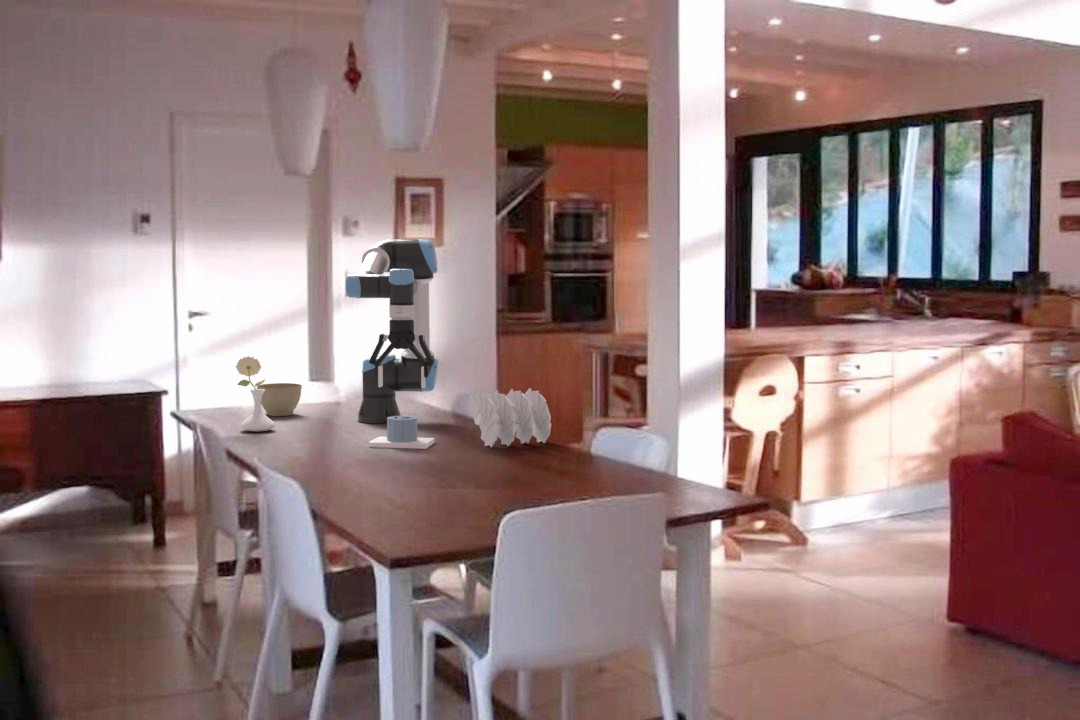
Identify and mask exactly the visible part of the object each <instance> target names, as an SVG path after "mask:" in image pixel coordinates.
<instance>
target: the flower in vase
mask: <svg viewBox="0 0 1080 720" xmlns="http://www.w3.org/2000/svg"><path fill="white" fill-rule="evenodd" d="M235 368H236V371H237V372H238V373H239V374H240V375H241V376H244V377H248V380H247V379H242V380H240V381H239V382H238V383H237V385H236V386H242V387H247V386H249V385H251V386H252V387H253V389H250V390H249V392H250V393H251V395H252V397H253V403H254V404H253V407H254V409H253V412H252V413H251V414H250V415H249V416H248V417H247V418H245V420H243V421H242V422H241V424H240V428H241V429H242V430H244V431H246V432H257V433H258V432H266V431H270V430H273V429H275V427H276V423H275V422H274V421H273V420H272V419H270V418H269V417H268V415H267V414H264V412H263V411H262V405H261V400H262V395H263V393H264V391H265V390H264V389H257V386H258V385H262V384H264V382H265V380H266V378H264V379H263V380H260V381H257V382H256V383H255V385H254V384H253V382H252V381H251V378H250V377H251V376H256V375H258V374H259V372H260V371H261V369H262V366H261V363H260V361H259V360H258V358H254V356H243V358H240V359H239V360H238V361H237V363H236V365H235Z"/></svg>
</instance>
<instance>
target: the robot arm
mask: <svg viewBox="0 0 1080 720" xmlns="http://www.w3.org/2000/svg"><path fill="white" fill-rule="evenodd" d="M361 257H362V258H361V266H360V268H359V270H358V272H357V273H350V274H347V276H346V279H345V294H346V296H347V297H348V298H350V299H351V298H355V299H389V309H388V311H389V318H391V319H389V334H385V333H381V334H379V336H378V342H377V344H376V346H375V348H374V350H373V352H372V355H371V356H370V357H367V358H365V359H363V361H362V371H361V373H362V400H361V403H360V405H359V406H360V407H359V410H358V413H357V421H358V422H359V423H364V424H387V418H388V417H392V416H402V415H401V412H400V408H399V405H398V403H397V400H396V396H397V395H396V394H397V393H396V392H420V393H423V392H432V391H433V390H434V389H435V387H436V383H437V382H436V381H437V375H438V368H439V359H437V358H436V357H435V353H434V352H433V351H432V350H431V349H430V348H431V346H430V344H431V342H430V340H431V339H430V337H431V336H430V333H431V332H430V282H431V281H433V279H434V274H437V273H438V260H437V259H438V258H437V252H436V246H435V244H434V242H433V241H432V240H431V239H425V238H423V239H422V238H400V239H398V238H388V239H384V240H380V241H378V242H375V243H374V244H372V245H371V246H368V248H367V249H366V250H365V251H364V252H363V254H362V256H361ZM387 273H388V274H387ZM387 340H388V341H389V342H390V344H389V345H388V346H387V348H386V349H385V350H384V352H383V353H382V354H380V351H381V350H382V348H383V346H384V343H385V342H387ZM394 349H396V350H399V349H401V350H403V351H402V352H401V354H400V357H401V358H397V356H396V355H395V354H390V353H391V352H392V351H393V350H394Z"/></svg>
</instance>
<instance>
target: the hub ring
mask: <svg viewBox="0 0 1080 720" xmlns="http://www.w3.org/2000/svg"><path fill="white" fill-rule="evenodd" d="M398 417H407V419H397V418H398ZM386 437H387V440H388V441H390V442H413V441H416V440H417V438H418V417H417V416H412V415H401V416H392V417H388V418H387V423H386Z"/></svg>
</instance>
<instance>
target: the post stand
mask: <svg viewBox="0 0 1080 720" xmlns="http://www.w3.org/2000/svg"><path fill="white" fill-rule="evenodd" d="M397 419H407V417H398V418H397ZM435 440H436V439H435V437H417V440H416V441H413V442H390V441H388V440H387V436H378V437H375V438H374V439H372V440H369V441H368V448H384V449H385V448H387V449H388V448H389V449H392V448H393V449H422V450H426V449H428V448H430V447H431V446H432V445H434V444H435V443H436V442H435Z"/></svg>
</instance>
